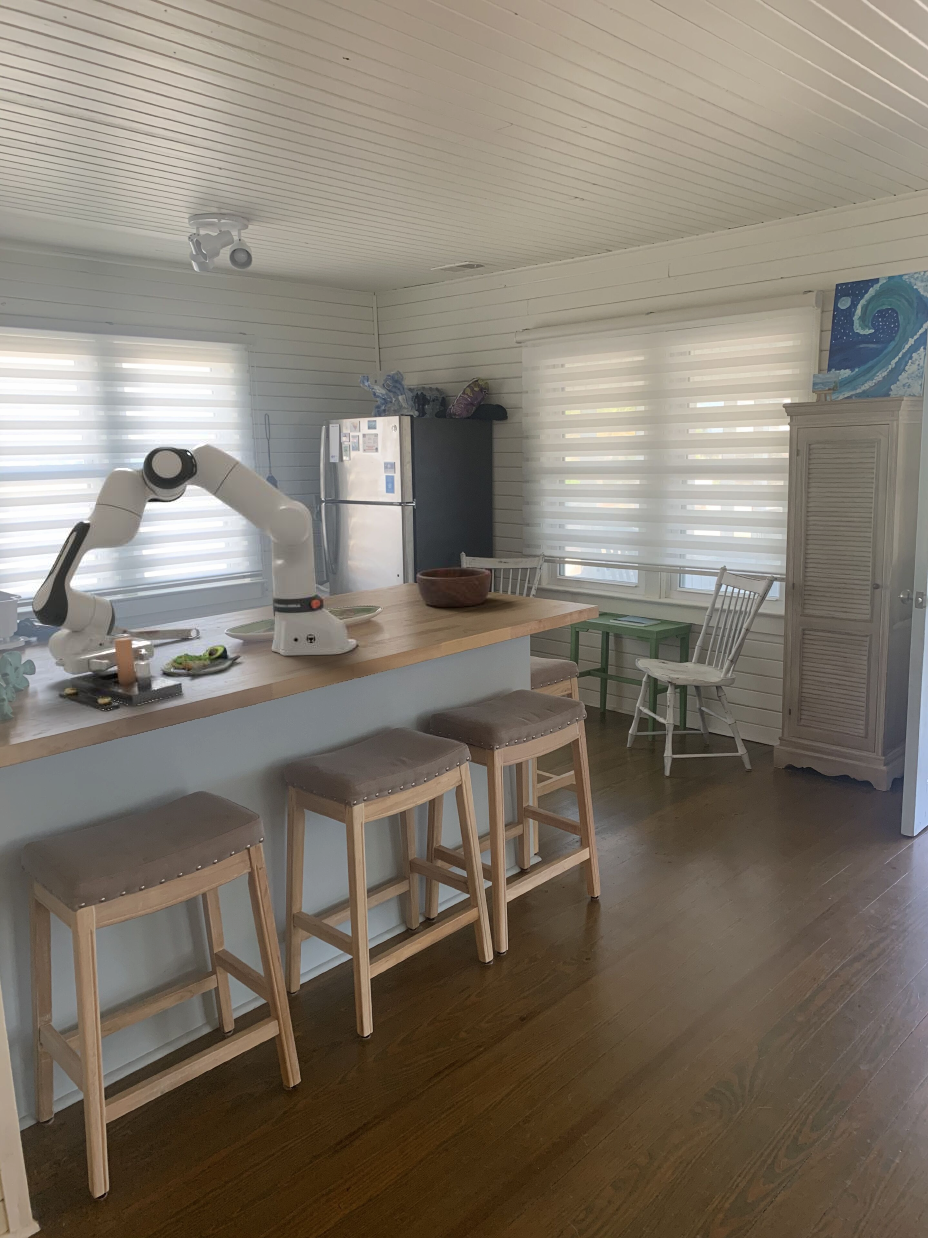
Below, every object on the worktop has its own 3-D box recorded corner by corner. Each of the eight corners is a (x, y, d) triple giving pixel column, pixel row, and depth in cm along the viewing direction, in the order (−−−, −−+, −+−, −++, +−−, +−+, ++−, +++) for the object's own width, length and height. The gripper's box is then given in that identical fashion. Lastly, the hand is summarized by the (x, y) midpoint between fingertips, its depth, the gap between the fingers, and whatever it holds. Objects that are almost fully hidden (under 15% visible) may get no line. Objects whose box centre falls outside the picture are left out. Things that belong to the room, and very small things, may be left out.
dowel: (140, 689, 204) (134, 638, 201) (131, 694, 200) (125, 641, 198) (125, 689, 204) (120, 637, 202) (116, 693, 201) (110, 641, 199)
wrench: (199, 647, 260) (94, 653, 240) (196, 646, 261) (91, 652, 241) (200, 619, 259) (94, 623, 239) (197, 618, 260) (92, 623, 240)
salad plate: (224, 679, 212) (223, 660, 211) (149, 681, 212) (147, 662, 212) (245, 659, 231) (243, 642, 230) (176, 661, 232) (174, 644, 231)
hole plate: (50, 693, 203) (46, 661, 201) (119, 677, 216) (116, 646, 214) (111, 712, 186) (107, 677, 185) (182, 693, 199) (179, 660, 198)
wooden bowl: (411, 599, 311) (410, 570, 309) (481, 594, 317) (480, 565, 315) (425, 612, 288) (424, 580, 286) (500, 606, 293) (500, 575, 291)
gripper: (49, 649, 201) (81, 656, 192) (133, 632, 216) (165, 638, 207) (53, 676, 202) (84, 685, 193) (135, 658, 217) (168, 665, 209)
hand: (127, 661), depth 200 cm, fingers open, 8 cm apart
